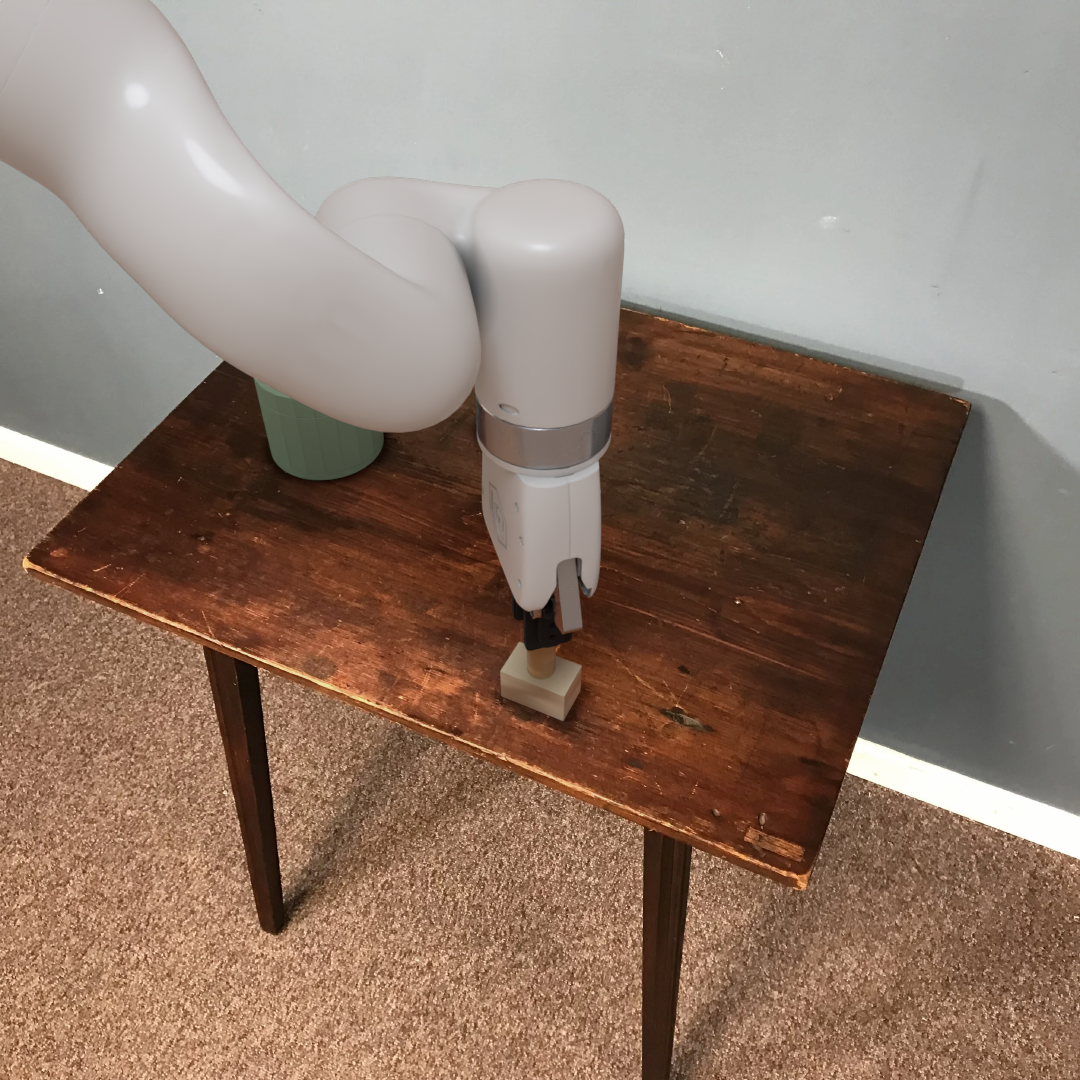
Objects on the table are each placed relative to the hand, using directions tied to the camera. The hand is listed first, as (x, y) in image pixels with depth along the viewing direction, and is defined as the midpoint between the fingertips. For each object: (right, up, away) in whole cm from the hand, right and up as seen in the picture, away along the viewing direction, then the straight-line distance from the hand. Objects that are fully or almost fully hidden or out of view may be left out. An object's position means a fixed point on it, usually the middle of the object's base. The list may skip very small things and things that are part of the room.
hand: (541, 626), depth 70 cm
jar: (-20, +15, +25) cm, 35 cm away
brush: (0, -5, +5) cm, 8 cm away
